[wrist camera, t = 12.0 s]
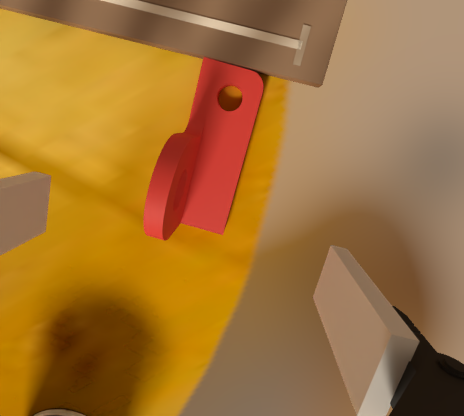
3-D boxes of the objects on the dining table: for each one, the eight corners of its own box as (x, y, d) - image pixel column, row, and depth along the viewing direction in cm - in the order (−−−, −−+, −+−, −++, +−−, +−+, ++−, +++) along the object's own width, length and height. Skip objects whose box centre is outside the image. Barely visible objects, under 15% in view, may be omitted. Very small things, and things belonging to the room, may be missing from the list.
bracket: (224, 230, 27) (210, 272, 19) (170, 215, 27) (135, 251, 19) (267, 77, 24) (271, 54, 16) (206, 60, 24) (181, 29, 16)
